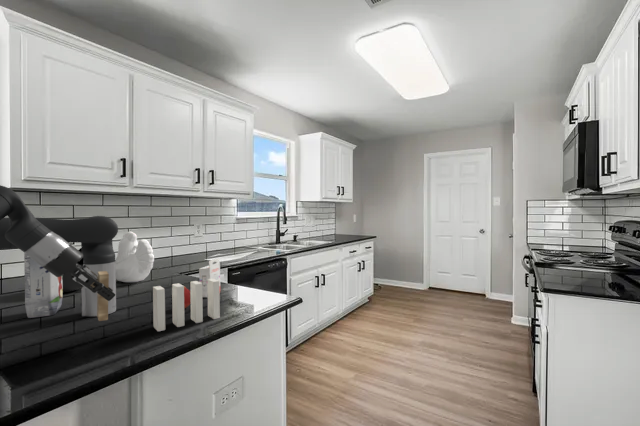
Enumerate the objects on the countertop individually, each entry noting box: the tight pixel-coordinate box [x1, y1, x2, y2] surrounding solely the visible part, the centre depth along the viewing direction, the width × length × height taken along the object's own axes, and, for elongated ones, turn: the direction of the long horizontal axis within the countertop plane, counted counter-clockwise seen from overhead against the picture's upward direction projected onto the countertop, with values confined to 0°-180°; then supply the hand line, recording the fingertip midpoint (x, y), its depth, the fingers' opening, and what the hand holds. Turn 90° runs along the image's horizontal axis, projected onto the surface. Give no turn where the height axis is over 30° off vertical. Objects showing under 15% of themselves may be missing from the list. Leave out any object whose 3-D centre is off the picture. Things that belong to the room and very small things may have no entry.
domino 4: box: [207, 279, 221, 320], centre depth 109 cm, size 2×5×12 cm, turn 39°
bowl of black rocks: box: [62, 247, 84, 293], centre depth 146 cm, size 20×20×19 cm
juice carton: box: [23, 252, 64, 319], centre depth 114 cm, size 9×10×27 cm
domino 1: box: [152, 285, 166, 332], centre depth 99 cm, size 2×5×12 cm, turn 39°
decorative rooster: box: [115, 231, 155, 283], centre depth 164 cm, size 25×16×25 cm, turn 49°
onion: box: [183, 285, 191, 310], centre depth 119 cm, size 6×6×8 cm
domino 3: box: [189, 280, 204, 324], centre depth 105 cm, size 2×5×12 cm, turn 39°
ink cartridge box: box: [198, 258, 221, 298], centre depth 138 cm, size 9×5×15 cm, turn 168°
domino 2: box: [171, 282, 185, 328], centre depth 102 cm, size 2×5×12 cm, turn 39°
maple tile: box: [96, 271, 109, 322], centre depth 89 cm, size 2×5×12 cm, turn 38°
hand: (110, 295), depth 90 cm, fingers closed on maple tile, 5 cm apart
